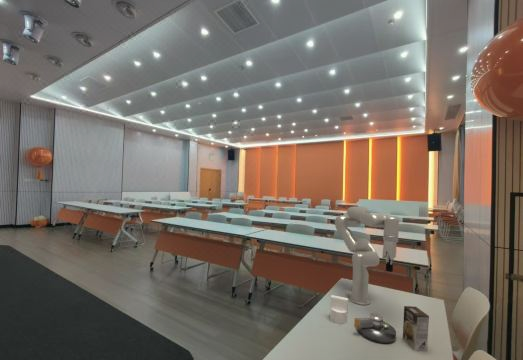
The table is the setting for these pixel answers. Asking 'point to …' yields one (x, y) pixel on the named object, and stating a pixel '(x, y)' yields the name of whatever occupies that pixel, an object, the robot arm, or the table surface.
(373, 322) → the orange-tipped joystick
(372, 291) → the table surface
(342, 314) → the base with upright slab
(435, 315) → the table surface
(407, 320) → the coffee box
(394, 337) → the dark round disc base
